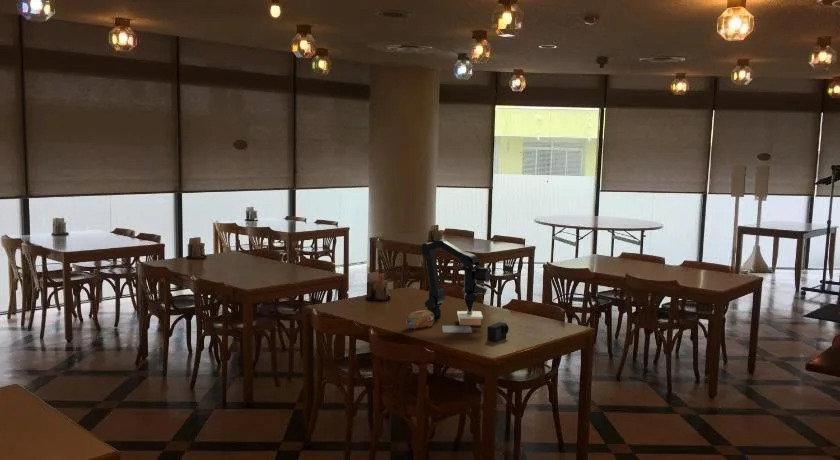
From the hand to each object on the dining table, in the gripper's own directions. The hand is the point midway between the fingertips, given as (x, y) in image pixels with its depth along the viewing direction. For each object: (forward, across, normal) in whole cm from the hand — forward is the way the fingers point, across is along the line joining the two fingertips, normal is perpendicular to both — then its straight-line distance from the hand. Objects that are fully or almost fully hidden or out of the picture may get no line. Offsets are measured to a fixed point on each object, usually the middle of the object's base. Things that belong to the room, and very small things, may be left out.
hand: (469, 310), depth 360 cm
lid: (+3, 0, 0) cm, 3 cm away
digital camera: (+7, -30, -11) cm, 33 cm away
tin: (+7, -8, +25) cm, 27 cm away
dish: (+7, 0, 0) cm, 7 cm away
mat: (+7, -12, +7) cm, 16 cm away
